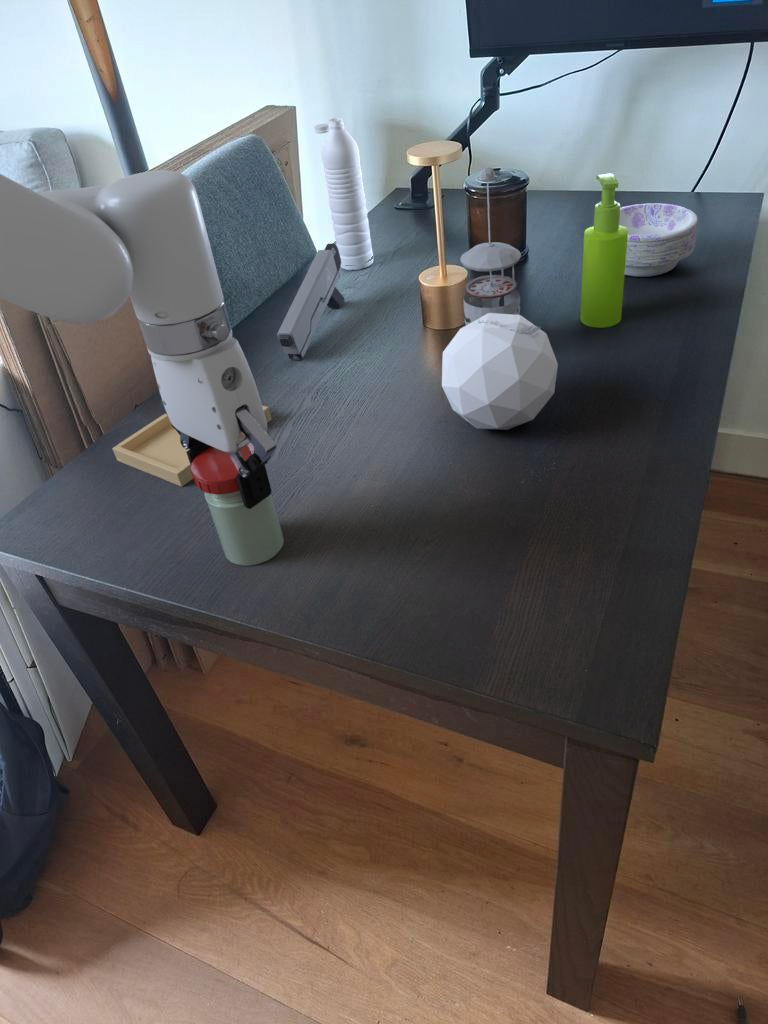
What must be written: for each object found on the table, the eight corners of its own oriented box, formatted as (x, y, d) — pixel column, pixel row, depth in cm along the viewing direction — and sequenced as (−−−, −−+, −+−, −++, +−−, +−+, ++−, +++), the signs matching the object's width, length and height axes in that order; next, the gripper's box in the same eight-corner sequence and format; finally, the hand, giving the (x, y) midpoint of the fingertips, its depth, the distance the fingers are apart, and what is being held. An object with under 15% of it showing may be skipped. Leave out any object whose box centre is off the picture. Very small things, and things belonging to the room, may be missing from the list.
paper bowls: (594, 286, 123) (597, 237, 118) (596, 250, 134) (599, 204, 129) (695, 284, 119) (702, 233, 114) (688, 247, 130) (695, 200, 125)
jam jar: (255, 573, 79) (233, 503, 73) (211, 553, 82) (186, 484, 76) (296, 536, 83) (278, 466, 77) (252, 518, 86) (232, 450, 80)
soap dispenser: (615, 305, 116) (625, 168, 104) (624, 325, 111) (636, 183, 98) (576, 309, 117) (581, 173, 104) (583, 329, 112) (590, 188, 99)
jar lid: (241, 446, 80) (237, 433, 79) (276, 472, 75) (273, 459, 74) (182, 475, 77) (178, 462, 76) (215, 504, 72) (211, 490, 71)
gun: (351, 286, 131) (338, 235, 124) (308, 387, 117) (290, 336, 109) (338, 286, 132) (324, 235, 124) (293, 386, 118) (274, 335, 110)
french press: (448, 361, 109) (435, 179, 93) (478, 325, 117) (471, 152, 101) (513, 369, 105) (511, 181, 89) (540, 332, 113) (542, 152, 97)
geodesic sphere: (595, 351, 94) (524, 262, 89) (586, 413, 84) (505, 316, 79) (500, 410, 103) (431, 332, 99) (482, 472, 93) (404, 388, 88)
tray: (181, 487, 93) (177, 473, 91) (117, 460, 99) (111, 448, 98) (272, 419, 102) (268, 407, 101) (207, 399, 109) (203, 387, 108)
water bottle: (351, 256, 146) (329, 113, 131) (380, 258, 143) (361, 113, 128) (326, 274, 141) (301, 127, 125) (356, 277, 138) (334, 127, 122)
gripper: (284, 329, 63) (319, 497, 75) (162, 292, 73) (208, 445, 84) (216, 367, 59) (263, 539, 70) (95, 323, 69) (153, 480, 80)
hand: (233, 487), depth 77 cm, fingers closed on jar lid, 7 cm apart
